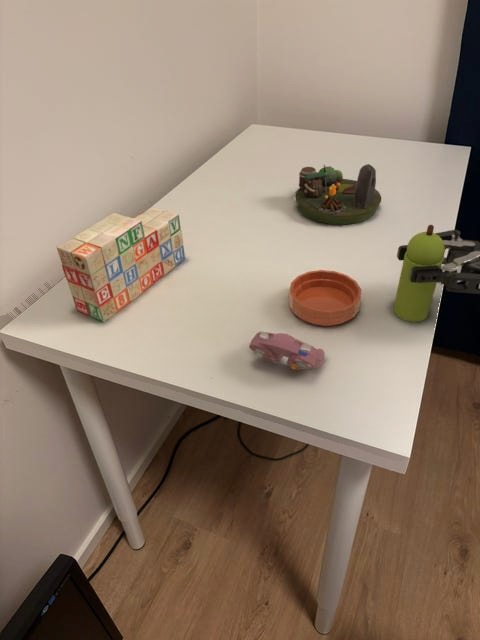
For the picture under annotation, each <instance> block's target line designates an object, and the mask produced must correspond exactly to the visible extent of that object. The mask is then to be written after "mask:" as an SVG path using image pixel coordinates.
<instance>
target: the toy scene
mask: <svg viewBox="0 0 480 640" xmlns="http://www.w3.org/2000/svg"><path fill="white" fill-rule="evenodd" d="M376 171H377V170H376V168H374V166H372V165H371V164H369V163H367V164H365V165H362V166H361V168H360V169H359V171H358V175H357V180H354V179H350V178H349V179H348V178H344V177H343V173H342V171H341V170H339V169H335V168H334V167H332V166H331V165H328V166H326V164H323V167H322V168H320V169H319V171H317V169H316V168H315V167H313V166H304V167H302V168H301V170H300V172H299V174H298V176H299V177H298V178H299V179H298V189H297V190H296V191H295V194H294V198H295V201H296V202H297V208H298V210H299V211H300V213H301V214H302V215H304V216H305V217H307V218H308V219H310V220H313V221H315V222H319V223H322V224H328V225H350V224H357V223H361V222H364V221H366V220H368V219H370V218H371V217H372V216H374V215H375V214H376V212H377V209H378V208H379V207H378V206H380V204H381V203H382V195H381V193H380V192H379V191H378V189H376V185H377V176H376V175H377V172H376Z"/></svg>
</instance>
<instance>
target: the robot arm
mask: <svg viewBox="0 0 480 640" xmlns="http://www.w3.org/2000/svg"><path fill="white" fill-rule="evenodd" d="M435 234H437V235H438V236H439V237H440V238H441V239H442V241H443V243H444V248H445V249H444V254H443V257H442V258H443V261H442V265H441V267H440V269H439V267H438V266H421V267H413V268H411V270H410V275H409V279H410V281H411V282H412V283H415V282H417V283H426V282H437V283H436V284H438V285H440V286H441V285H443V286H445V290H446V291H447V292H449V293H461V294H462V293H463V294H473V295H475V294H476V295H480V239H479V240H470V239H463V238H461V237H460V234H461V231H460V230H458V229H451V230H445V231H440V232H435ZM407 246H408V244H403V245H399V247H398V248H397V253H396V258H397V259H398V261H402V262H403V261H404V256H405V253H406V251H407ZM446 250H448V251H447V254H446V257H445V252H446ZM460 282H465V283H464V284H458V283H460Z"/></svg>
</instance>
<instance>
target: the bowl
mask: <svg viewBox="0 0 480 640" xmlns="http://www.w3.org/2000/svg"><path fill="white" fill-rule="evenodd" d="M288 291H289V292H288V293H289V294H288V305H289V307H290V309H291V311H292V313H293V315H296V316H297V317H298V318H299V319H300V320H302V321H305V322H306V323H309V324H312V325H314V326H315V325H316V326H322V327H323V326H324V327H328V326H329V327H331V326H337V325H340V324H344V323H346V322H348V321H350V320H352V319H354V318H355V317H356V315H357V314H358V313H359V311H360V306H361V301H362V288H361V286H360V285H359V283H358V282H357V281H356V280H355V279H353V278H352V277H350V276H349V275H348V274H344V273H341V272H339V271H335V270H325V269H319V270H310V271H307V272H304V273H302V274H299V275H297V277H295V278H294V279H293V280H292V281H291V283H290V285H289V290H288Z"/></svg>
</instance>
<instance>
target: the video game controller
mask: <svg viewBox="0 0 480 640" xmlns="http://www.w3.org/2000/svg"><path fill="white" fill-rule="evenodd" d="M248 347H249V350H251V351H253V352H254V354H255V356H256V357H258V358H263V357H264V358H265V359H267V360H268V361H270V362H273V363H276V364H280V363H281V361H282V360H283V357H285V358H287V360H286V365H287V366H288V367H290V368H291V369H292V370H304V369H307V370H313V369H315V368H318V367H320V366H321V365H322V364H323V362H324V359H325V351H324V349H323V348H316V347H315V346H313V345H311V344H309V343H306V342H304V341H302V340H299V339H297V338H295V337H294V336H292V335H290V334H288V333H282V332H280V333H276V332H275V333H273V332H268V331H264V330H263V331H258V332H256V334H255V335H254V336H253V337H252V339H251V340H250V343H249V345H248Z"/></svg>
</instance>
